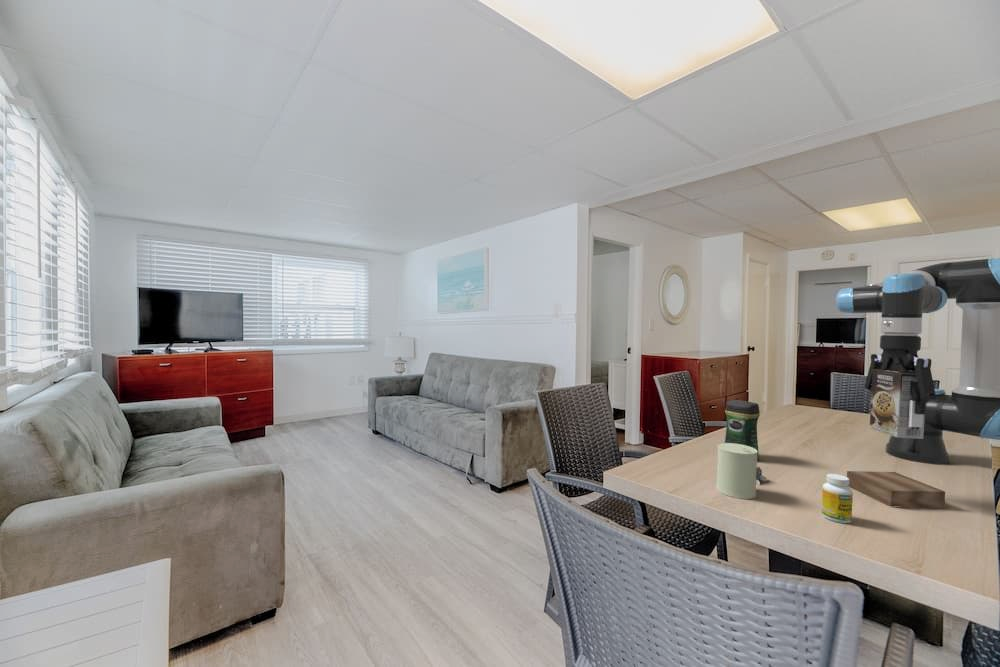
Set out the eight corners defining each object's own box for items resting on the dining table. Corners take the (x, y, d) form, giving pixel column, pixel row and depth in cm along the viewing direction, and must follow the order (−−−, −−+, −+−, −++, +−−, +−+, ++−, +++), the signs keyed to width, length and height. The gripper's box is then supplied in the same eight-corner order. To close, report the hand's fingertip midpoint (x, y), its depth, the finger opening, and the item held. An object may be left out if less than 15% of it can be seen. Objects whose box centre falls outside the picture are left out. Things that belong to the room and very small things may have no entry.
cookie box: (868, 428, 111) (870, 368, 111) (893, 429, 111) (897, 369, 110) (896, 437, 102) (900, 373, 102) (925, 439, 102) (928, 373, 101)
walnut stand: (893, 486, 114) (894, 471, 114) (944, 507, 101) (945, 491, 101) (846, 485, 114) (847, 471, 114) (890, 506, 101) (891, 490, 101)
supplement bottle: (833, 511, 98) (835, 471, 97) (857, 522, 92) (859, 480, 92) (815, 513, 96) (817, 473, 96) (838, 525, 91) (840, 482, 91)
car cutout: (765, 490, 111) (765, 473, 111) (739, 482, 116) (739, 466, 116) (786, 478, 120) (787, 462, 120) (761, 471, 125) (762, 456, 125)
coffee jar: (762, 458, 135) (764, 402, 135) (749, 462, 131) (751, 404, 131) (732, 450, 144) (734, 397, 143) (719, 454, 139) (721, 399, 139)
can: (742, 501, 102) (743, 453, 102) (708, 488, 110) (709, 443, 110) (764, 495, 106) (765, 449, 106) (730, 482, 115) (731, 439, 114)
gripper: (849, 333, 117) (845, 412, 118) (930, 336, 95) (924, 433, 96) (876, 333, 117) (872, 412, 118) (962, 336, 95) (957, 433, 96)
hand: (895, 421), depth 107 cm, fingers closed on cookie box, 9 cm apart
